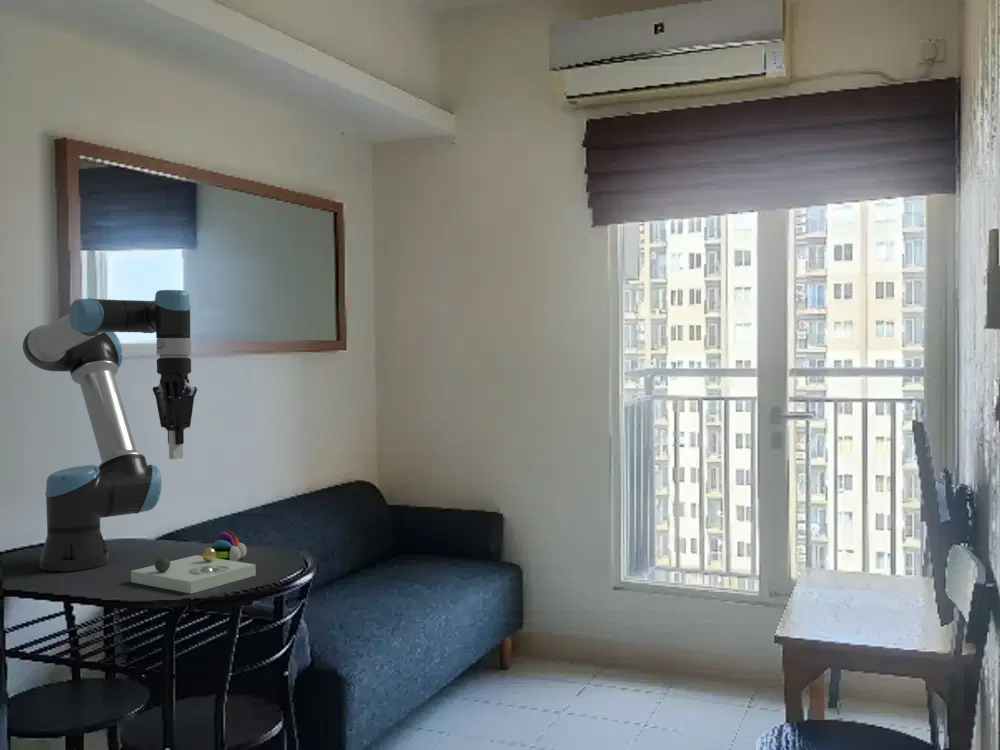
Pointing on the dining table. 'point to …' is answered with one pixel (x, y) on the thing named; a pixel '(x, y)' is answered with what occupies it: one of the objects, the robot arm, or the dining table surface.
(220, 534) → the rainbow disc rolling toy
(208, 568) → the steel ball
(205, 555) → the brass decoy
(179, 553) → the dining table surface
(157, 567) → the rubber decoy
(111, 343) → the robot arm
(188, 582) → the pale green flat slab
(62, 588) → the dining table surface
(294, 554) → the dining table surface
